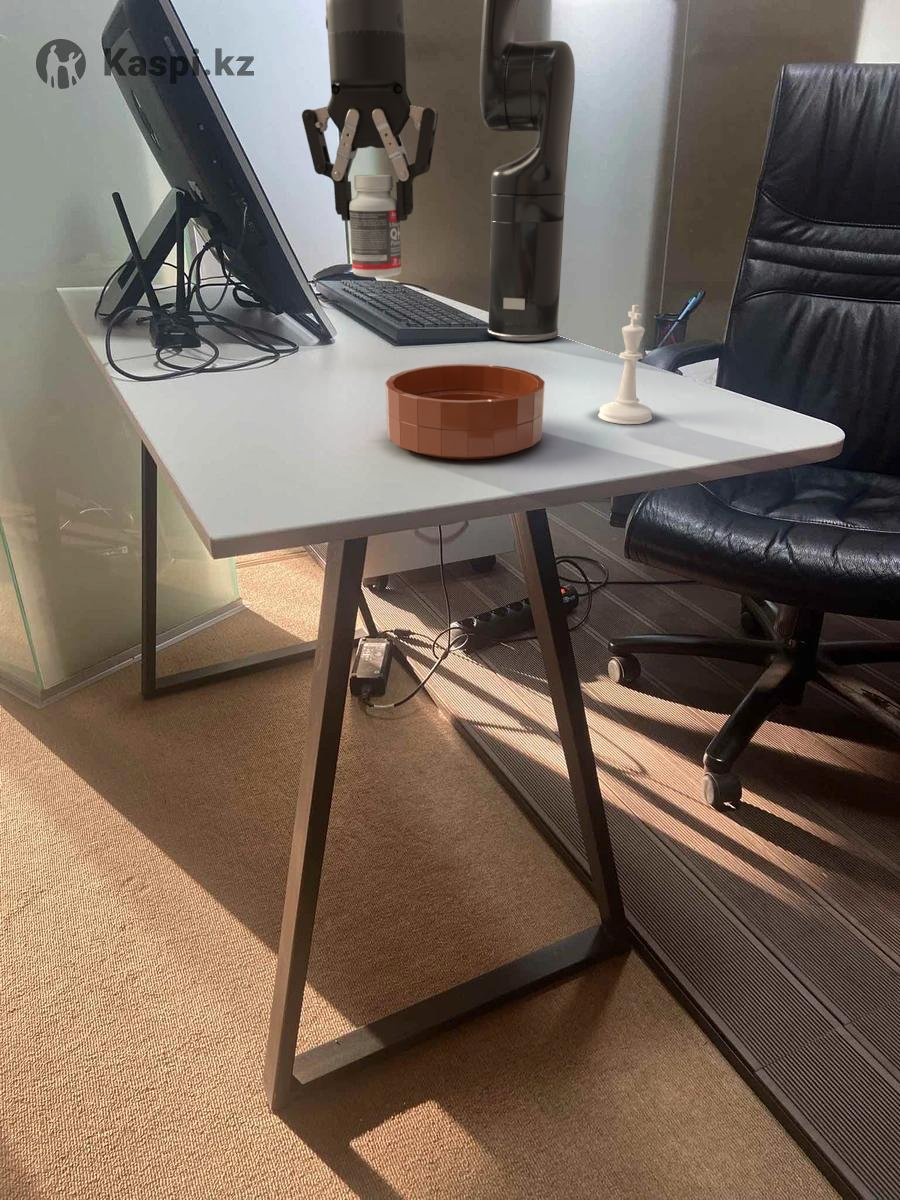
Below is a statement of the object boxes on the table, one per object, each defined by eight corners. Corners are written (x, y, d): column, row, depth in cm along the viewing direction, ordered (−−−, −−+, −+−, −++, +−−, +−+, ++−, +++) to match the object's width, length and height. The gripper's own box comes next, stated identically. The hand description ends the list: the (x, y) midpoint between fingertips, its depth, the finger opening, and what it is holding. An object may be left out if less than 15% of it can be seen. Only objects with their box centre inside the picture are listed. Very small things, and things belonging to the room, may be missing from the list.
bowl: (403, 416, 80) (402, 362, 78) (544, 421, 79) (547, 366, 77) (373, 460, 69) (370, 399, 67) (537, 468, 67) (540, 405, 65)
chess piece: (612, 426, 77) (622, 311, 73) (590, 411, 82) (598, 302, 77) (661, 422, 79) (674, 308, 74) (637, 408, 83) (648, 299, 78)
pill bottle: (403, 277, 92) (400, 175, 87) (353, 278, 91) (347, 176, 86) (399, 270, 96) (396, 173, 92) (352, 271, 96) (346, 174, 91)
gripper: (445, 32, 85) (446, 217, 94) (305, 36, 87) (319, 217, 95) (432, 24, 79) (435, 224, 87) (282, 28, 81) (299, 223, 89)
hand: (374, 219), depth 91 cm, fingers closed on pill bottle, 5 cm apart
